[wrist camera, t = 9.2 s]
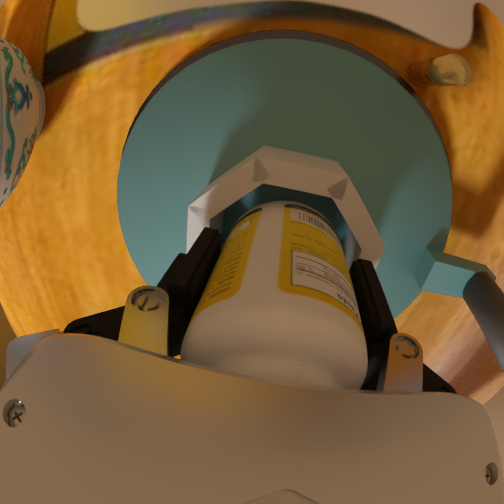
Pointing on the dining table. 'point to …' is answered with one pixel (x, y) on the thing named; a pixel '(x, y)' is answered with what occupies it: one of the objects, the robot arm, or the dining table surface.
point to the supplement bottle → (281, 303)
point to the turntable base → (421, 73)
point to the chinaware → (17, 115)
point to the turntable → (300, 168)
